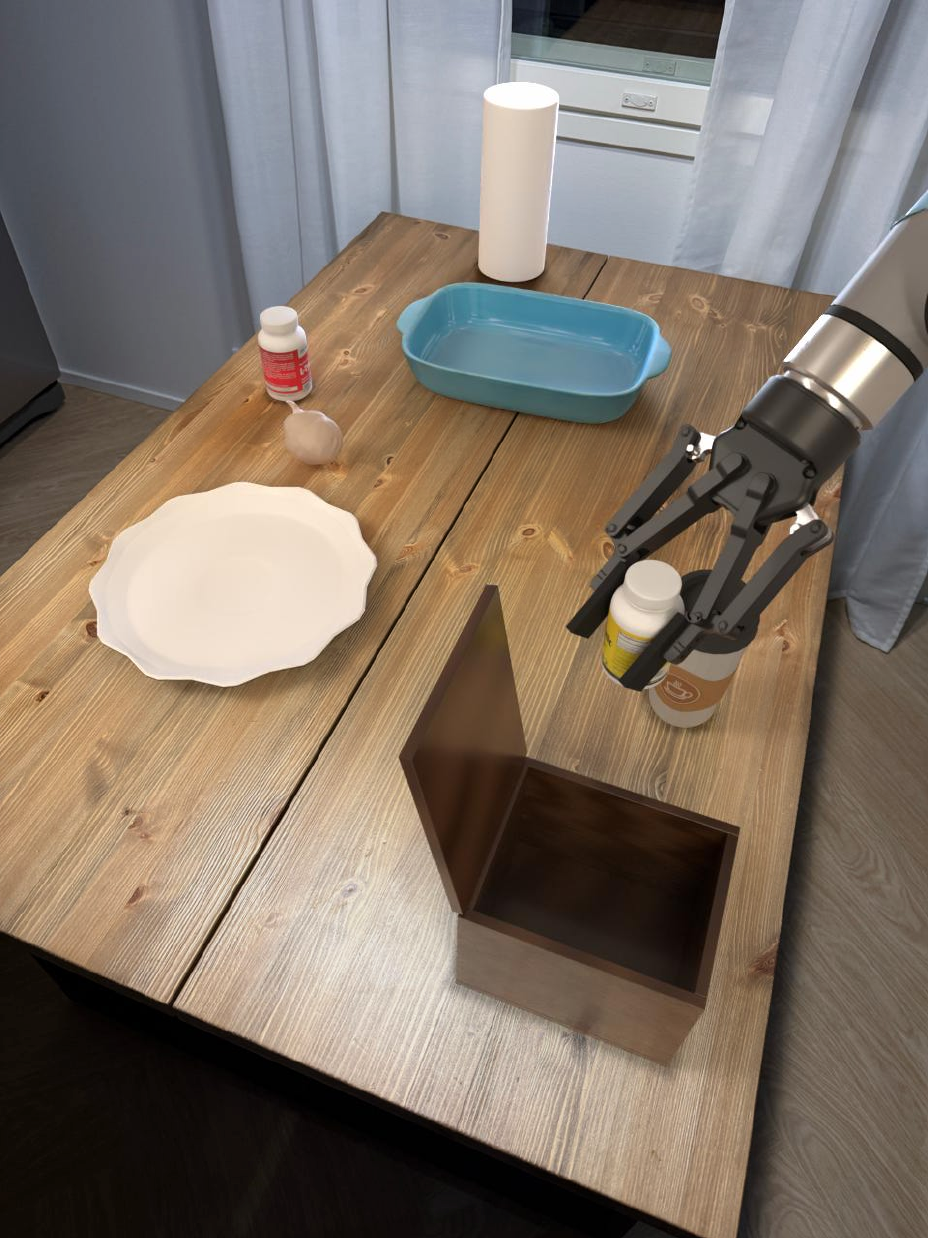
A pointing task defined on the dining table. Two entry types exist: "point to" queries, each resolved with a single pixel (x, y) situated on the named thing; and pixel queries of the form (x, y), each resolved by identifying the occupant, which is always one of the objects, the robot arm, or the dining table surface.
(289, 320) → the pill bottle
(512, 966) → the chest
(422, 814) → the lid
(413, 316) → the casserole dish
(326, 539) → the plate
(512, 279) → the tall pillar cylinder
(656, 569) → the supplement bottle
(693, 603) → the coffee cup
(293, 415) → the garlic bulb
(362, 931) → the dining table surface
